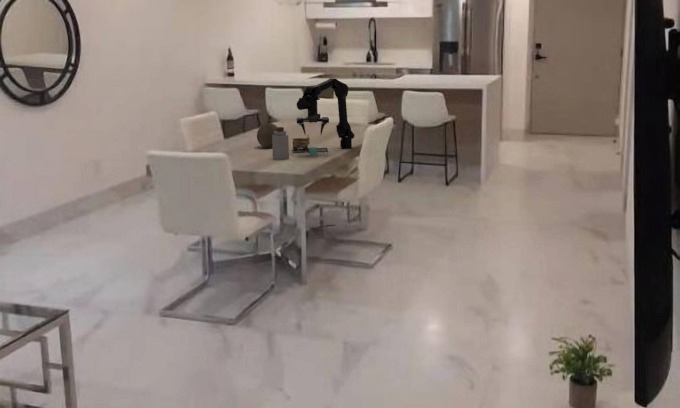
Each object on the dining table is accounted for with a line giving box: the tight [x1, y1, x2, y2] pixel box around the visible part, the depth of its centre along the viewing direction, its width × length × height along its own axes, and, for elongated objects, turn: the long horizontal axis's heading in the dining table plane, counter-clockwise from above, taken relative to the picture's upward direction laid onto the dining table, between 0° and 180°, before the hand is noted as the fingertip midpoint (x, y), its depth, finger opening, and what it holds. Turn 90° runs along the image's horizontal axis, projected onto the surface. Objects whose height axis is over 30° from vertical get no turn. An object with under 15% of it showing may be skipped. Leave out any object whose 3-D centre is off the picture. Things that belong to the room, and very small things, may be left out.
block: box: [308, 146, 318, 157], centre depth 442 cm, size 4×4×4 cm
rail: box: [292, 147, 329, 154], centre depth 454 cm, size 21×11×1 cm, turn 94°
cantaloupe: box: [256, 123, 278, 149], centre depth 467 cm, size 14×14×15 cm
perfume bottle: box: [271, 126, 290, 161], centre depth 430 cm, size 7×7×18 cm
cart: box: [292, 134, 311, 151], centre depth 453 cm, size 10×12×8 cm
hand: (313, 134), depth 439 cm, fingers open, 9 cm apart
